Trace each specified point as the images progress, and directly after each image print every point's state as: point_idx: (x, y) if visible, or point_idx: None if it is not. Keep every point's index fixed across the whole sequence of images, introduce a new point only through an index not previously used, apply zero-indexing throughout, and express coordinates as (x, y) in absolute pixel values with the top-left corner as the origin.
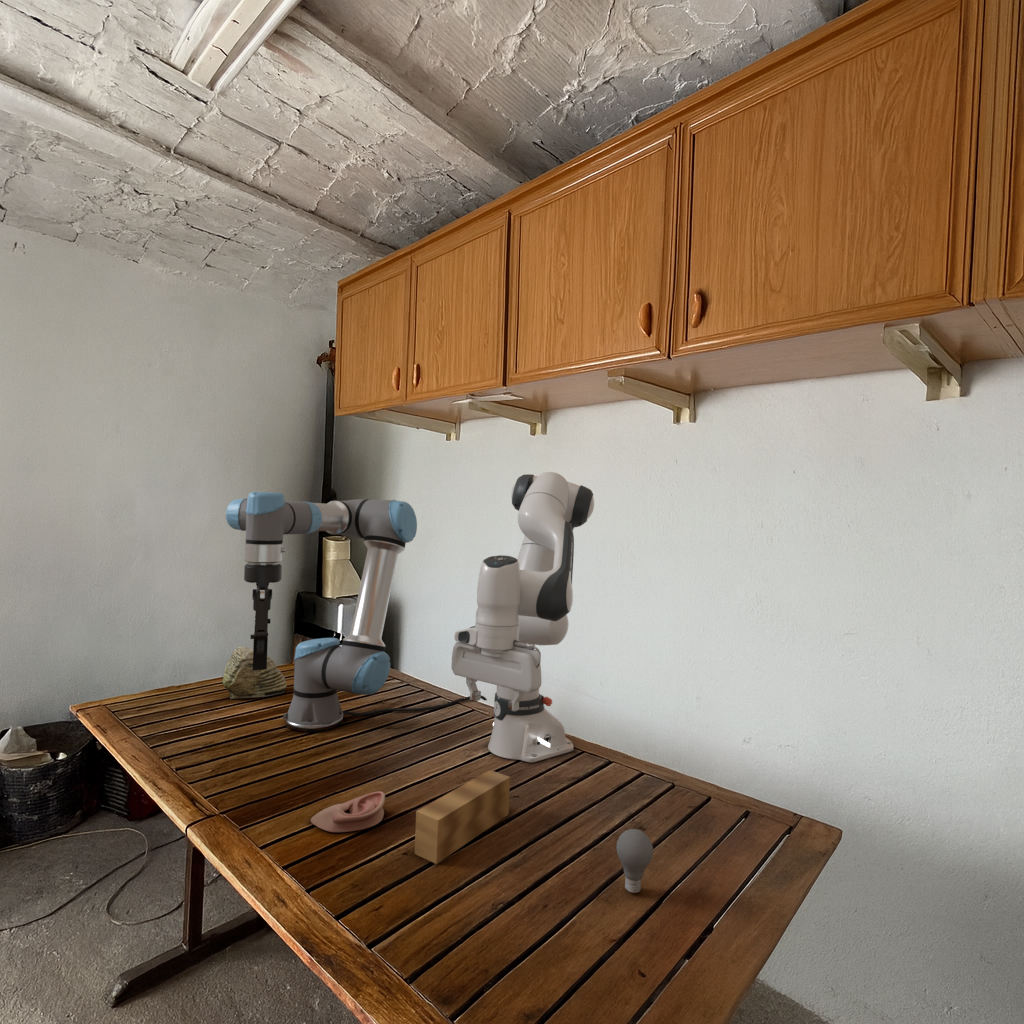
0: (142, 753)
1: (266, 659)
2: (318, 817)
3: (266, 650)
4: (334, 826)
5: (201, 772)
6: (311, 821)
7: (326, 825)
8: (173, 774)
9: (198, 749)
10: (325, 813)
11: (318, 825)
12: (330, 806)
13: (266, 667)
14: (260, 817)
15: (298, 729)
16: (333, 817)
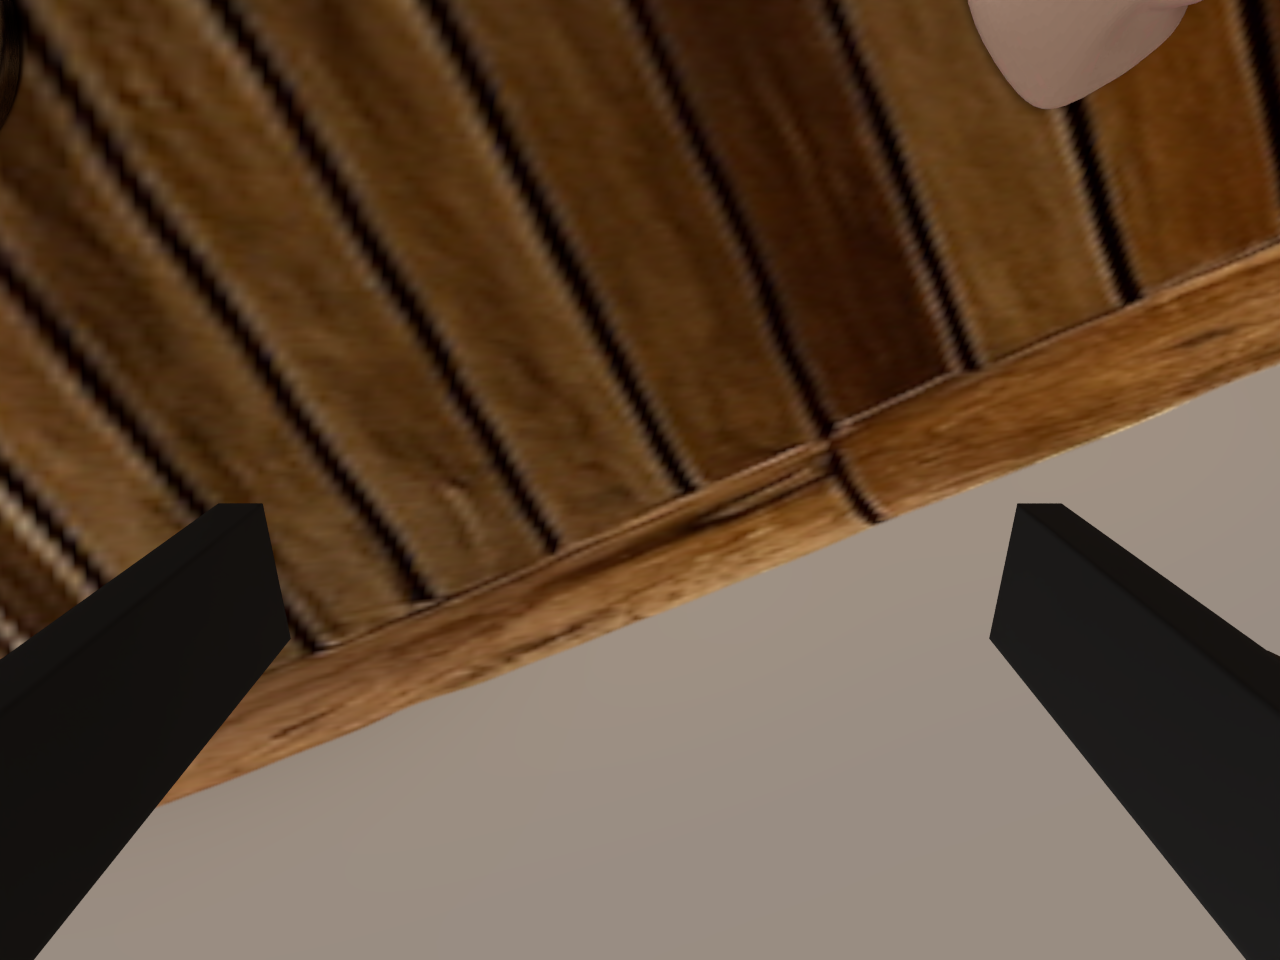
0: (261, 713)
1: (1137, 566)
2: (1082, 73)
3: (1241, 646)
4: (1178, 7)
5: (466, 520)
6: (1059, 106)
7: (1147, 43)
8: (466, 603)
9: None
10: (1096, 38)
11: (1112, 78)
12: (1004, 6)
13: (1076, 515)
14: (914, 303)
15: (3, 107)
16: (1189, 3)
